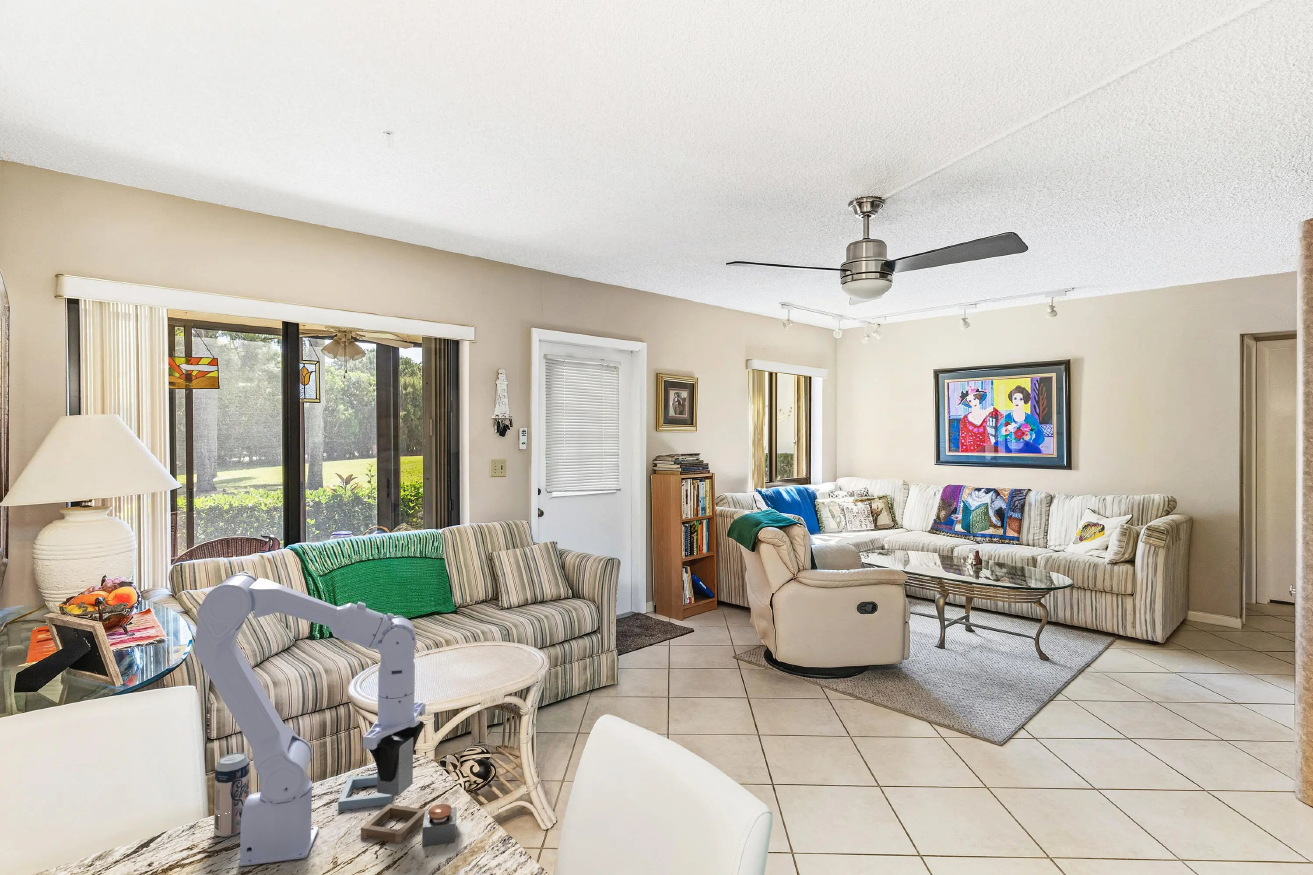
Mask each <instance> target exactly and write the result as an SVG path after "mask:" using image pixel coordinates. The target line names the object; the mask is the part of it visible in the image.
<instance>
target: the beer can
mask: <svg viewBox="0 0 1313 875" xmlns="http://www.w3.org/2000/svg"><path fill="white" fill-rule="evenodd" d="M249 795H250V758H249V757H248V756H247V754H246V753H245V752H233V753H229V754H226V755H223V756H221V757H220V758H219V760H218V761H217V763H216V765H215V767H214V809H213V810H214V812H213V813H214V816H213V817H214V819H213V832H214V835H215V836H216V837H222V838H229V837H234V836H237V835H238V834H241V816H242V811H243V807H244V803H245V801H246V799H247V797H248V796H249ZM229 812H230V813H229ZM225 813H227V814H225ZM218 815H220V816H218Z"/></svg>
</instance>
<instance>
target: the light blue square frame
mask: <svg viewBox="0 0 1313 875" xmlns="http://www.w3.org/2000/svg"><path fill="white" fill-rule="evenodd" d="M373 786H377V774H372V775H362V776H352V777H351V776H350V777H348V778H347V780H346V783H345V785H344V787H343V790H342V792H341V794H340V796H339V798H338V801H337V811H345V810H352V809H361V808H369V807H372V808H373V807H381V806H387V805H388V804H391V803H392V800H393V797H394V795H389V794H382V793H377V794H372V795H369V794H368V795H363V796H362V795H361V796H353V797H350V796H351V794H352V791H353V789H354V788H356V789H357V788H363V787H365V788H366V787H373Z"/></svg>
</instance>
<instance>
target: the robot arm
mask: <svg viewBox="0 0 1313 875" xmlns="http://www.w3.org/2000/svg"><path fill="white" fill-rule="evenodd" d="M366 606H367V604H366V603H365V602H363V601H358V602H357V604H355V603H352V602H348V603H346V604H343V605H340V606H338V605H334V604H331V603H329V602H326V601H323V600H321V599H319V598H317V597H313V596H311V595H308V594H306V593H304V592H301V591H298V590H296V589H293V588H292V587H291V588H290V587H288V586H286V585H282V584H280V583H277V582H276V581H272V580H271V579H268V578H262V577H258V578H257V577H255V576H254V575H251V574H248V573H236V574H233V575H230V576H228V577H227V578H225V579H223V581H222V582H221V583H220V584H218V586H216V587H214V588H213V589H211V590H210V591H209V592H208V593H207V594H206V596H205V597H204V599H203V600H202V603H200V606H199V608H198V610H197V611H196V618H197V622H196V631H195V637H194V644H193V646H194V647H193V650H194V654H195V656H196V657H197V659H198V660H199V662H200V664H201V666H202V668H203V669H204V670H205V673H206V674H207V676H208V677H209V679H210V681H211V683H212V684H213V686H214V687H215V690H216V691H217V693H218V694H219V696H220V697H221V699H222V701H223V703H224V704H225V706H226V707H227V709H228V710H229V712H230V714H231V716H232V717H233V719H234V721H235V722H236V724H237V726H238V727H239V729H240V731H241V733H242V735H243V736H244V737H245V739H246V741H247V743H248V745H250V746H249V747H250V748H251V753H252V759H253V767H254V770H255V771H256V773H257V776H258V789H259V791H257V792H254V793H249V796H248V797H247V799H246V801H245V803H244V807H243V811H242V816H241V832H240V838H239V839H240V841H239V843H240V845H239V846H240V847H239V848H240V849H239V852H240V853H239V860H238V863H237V864H238V866H239V867H245V866H252V865H253V866H254V865H261V864H268V863H276V862H283V861H293V860H299V859H305V858H307V857H308V855H309V853H310V850H311V848H312V846H313V844H314V842H315V840H316V837H317V835H318V832H319V829H320V828H319V827H318V826H314V827H312V811H313V810H312V805H313V803H312V800H313V799H312V798H313V797H312V796H313V782H312V779H310V777H309V776H308V774H307V772H308V769H309V765H310V763H311V762H312V758H313V749H312V747H311V744H310V743H309V742H308V741H307V740H306V739H303V738H302V737H300V736H299V735H297V734H296V732H295V731H294V729H293V727H291V726H290V725H288V724H285V723H284V721H283V720H282V717H281V716H280V714H279V713H278V711H277V709H276V708H275V706H274V704H273V702H272V701H271V699H270V698H269V696H268V694H267V692H266V690H265V689H264V687H263V685H262V684H261V681H260V680H259V679H258V677H257V675H256V673H255V672H254V670H253V668H252V666H251V665H250V663H249V661H248V660H247V657H246V656H245V655H244V653H243V651H242V649H241V648H240V646H239V644H238V643H237V639H238V637H239V634H240V632H241V630H242V628H243V625H244V624H245V620H246V618H247V617H248V616H249V615H250V614H251V613H252V612H253V619H258V618H261V617H266V616H269V615H273V614H277V613H279V614H282V615H286V616H290V617H293V618H297V619H300V620H304V621H308V622H310V623H314V624H318V625H322V626H326V627H328V628H329V629H330V631H331V634H332V635H333V638H337V639H340V640H343V641H345V642H348V643H352V644H355V645H358V646H361V647H363V648H367V649H370V650H378V652H379V654H380V663H379V665H378V677H377V678H378V680H377V683H378V684H377V685H378V686H377V687H378V688H377V719H376V720H375V722H374V723H373V724H372V726H371V727H370V729H369V730H368V731H367V732H366V734H364V735H363V736H362V749H365V750H368V751H369V752H370V753H371V756H372V758H373V760H374V762H375V765H376V769H378V773H379V777H380V781H386V782H392V781H393V779H394V775H395V769H396V760H397V755H398V751H399V749H400V746H401V744H402V742H403V741H401V740H394V737H392V734H396V735H404V736H413V753H414V752H415V748H416V745H417V742H418V739H419V738H420V734H421V733H422V731H423V729H424V728H425V722H424V721H421V720H420V718H419V716H421V717H422V716H424V715H425V714H426V702H420V701H419V702H418V701H415V687H416V686H415V684H416V677H415V675H416V663H415V661H414V660H415V656H416V655H415V650H416V646H417V642H418V641H417V640H416V629H415V626H414V624H413V622H411V620H409V619H408V618H406V617H404V616H403V615H394V613H390V612H388V613H387V614H384V613H382V612H378V611H375V610H373V609H370V608H368V607H366Z"/></svg>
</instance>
